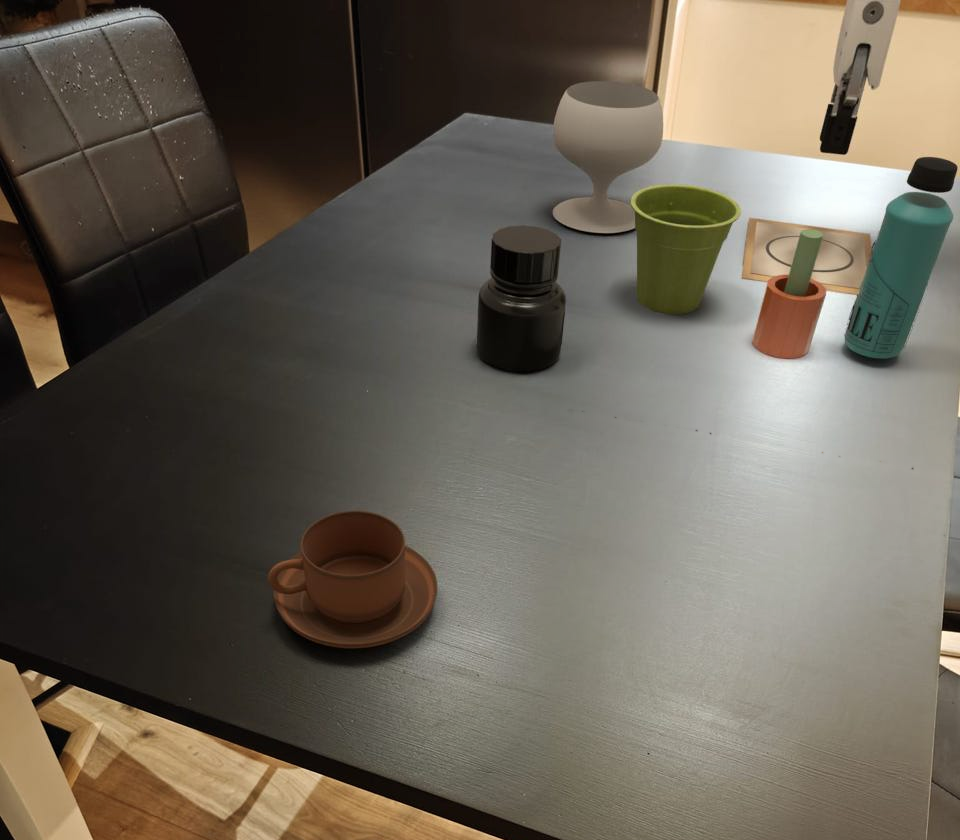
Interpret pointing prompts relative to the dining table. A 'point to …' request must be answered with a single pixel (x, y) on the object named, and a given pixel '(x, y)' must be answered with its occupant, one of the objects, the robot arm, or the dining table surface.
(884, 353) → the beverage bottle
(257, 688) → the dining table surface
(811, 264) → the marker
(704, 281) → the plant pot
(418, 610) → the cup and saucer
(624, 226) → the chalice
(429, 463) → the dining table surface
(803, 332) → the pen cup
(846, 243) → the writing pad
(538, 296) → the ink bottle
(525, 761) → the dining table surface
